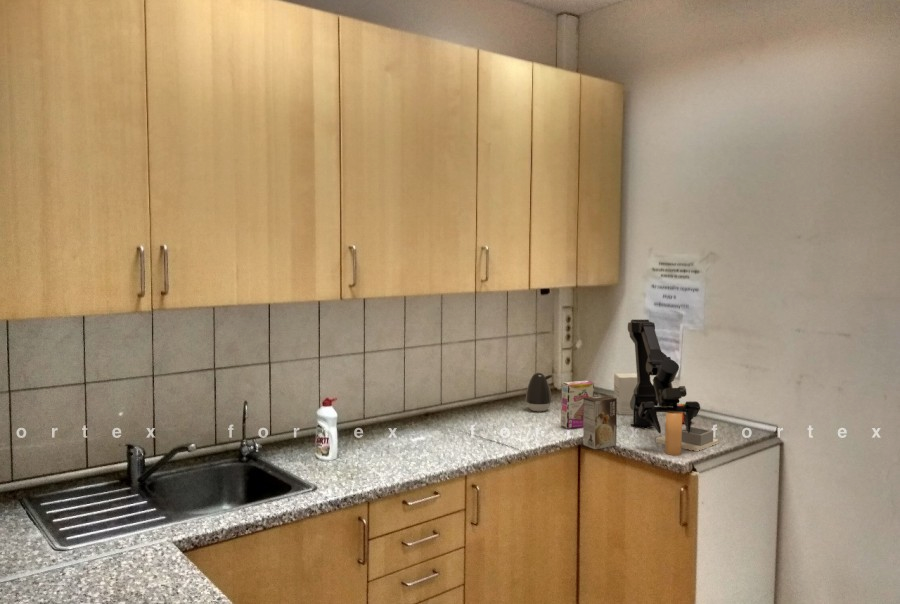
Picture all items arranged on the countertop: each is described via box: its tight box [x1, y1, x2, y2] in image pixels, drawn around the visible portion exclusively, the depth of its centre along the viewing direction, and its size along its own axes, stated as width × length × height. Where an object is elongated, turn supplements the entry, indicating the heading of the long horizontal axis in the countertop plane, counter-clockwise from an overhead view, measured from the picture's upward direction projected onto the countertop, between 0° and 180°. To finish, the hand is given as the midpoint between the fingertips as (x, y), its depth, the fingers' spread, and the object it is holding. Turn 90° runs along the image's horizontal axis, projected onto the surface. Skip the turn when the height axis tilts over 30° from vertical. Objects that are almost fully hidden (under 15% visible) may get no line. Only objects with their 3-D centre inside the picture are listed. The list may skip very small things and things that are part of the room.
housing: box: [655, 425, 720, 452], centre depth 240 cm, size 15×14×5 cm
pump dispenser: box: [525, 372, 553, 413], centre depth 286 cm, size 10×10×15 cm
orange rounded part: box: [664, 411, 683, 457], centre depth 228 cm, size 5×5×13 cm
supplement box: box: [613, 372, 637, 416], centre depth 282 cm, size 9×9×15 cm
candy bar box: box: [560, 380, 595, 430], centre depth 261 cm, size 11×5×16 cm, turn 113°
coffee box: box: [582, 394, 618, 450], centre depth 236 cm, size 9×6×16 cm
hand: (674, 432), depth 227 cm, fingers open, 9 cm apart
